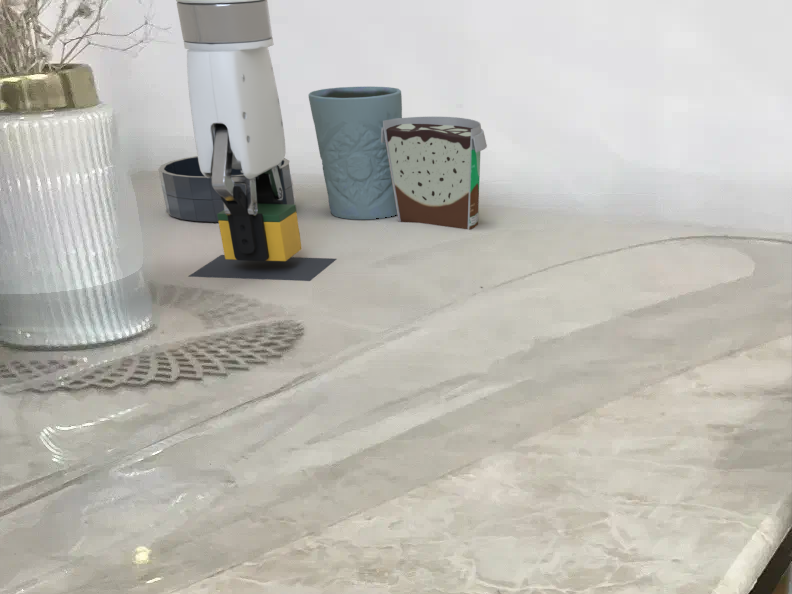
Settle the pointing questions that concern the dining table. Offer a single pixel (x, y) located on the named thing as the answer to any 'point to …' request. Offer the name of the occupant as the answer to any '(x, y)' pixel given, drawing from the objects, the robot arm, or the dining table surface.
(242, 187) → the bowl
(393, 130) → the food container
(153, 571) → the dining table surface
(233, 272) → the mat
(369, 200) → the blue embossed cup
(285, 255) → the sponge
